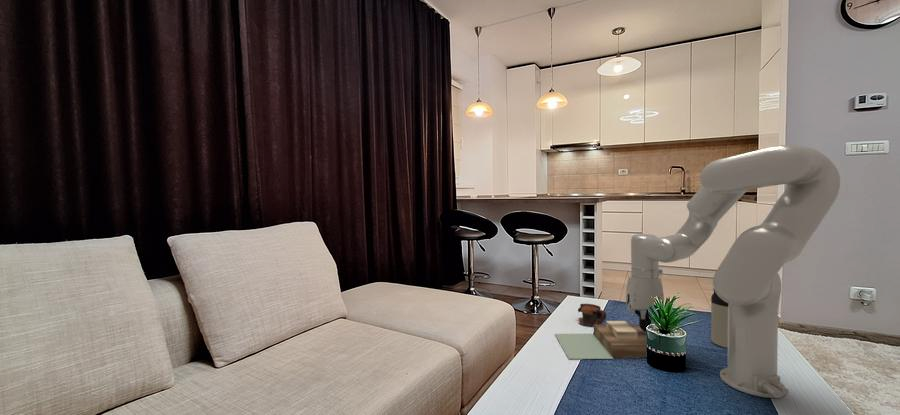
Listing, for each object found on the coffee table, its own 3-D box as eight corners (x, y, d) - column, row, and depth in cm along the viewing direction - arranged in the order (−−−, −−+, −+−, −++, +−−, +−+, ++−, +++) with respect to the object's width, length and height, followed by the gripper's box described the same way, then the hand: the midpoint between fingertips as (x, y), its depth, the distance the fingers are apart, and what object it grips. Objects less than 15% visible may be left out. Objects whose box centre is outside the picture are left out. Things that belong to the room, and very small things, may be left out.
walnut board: (660, 357, 103) (660, 344, 103) (612, 357, 104) (611, 344, 104) (635, 335, 119) (635, 323, 119) (593, 335, 120) (593, 324, 120)
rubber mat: (613, 359, 103) (613, 358, 103) (568, 359, 104) (568, 358, 104) (592, 334, 121) (592, 333, 121) (554, 334, 122) (554, 333, 122)
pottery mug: (571, 324, 133) (572, 302, 136) (587, 330, 137) (588, 309, 140) (598, 325, 123) (599, 301, 126) (615, 331, 127) (616, 309, 130)
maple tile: (637, 339, 107) (637, 331, 107) (617, 339, 107) (617, 331, 107) (624, 328, 116) (624, 320, 116) (606, 328, 116) (606, 321, 116)
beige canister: (735, 352, 105) (736, 293, 104) (706, 342, 112) (706, 287, 111) (748, 345, 109) (748, 288, 108) (718, 336, 116) (718, 283, 115)
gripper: (662, 270, 113) (663, 325, 114) (615, 271, 114) (616, 325, 115) (676, 275, 106) (676, 334, 107) (625, 276, 107) (626, 335, 108)
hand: (645, 330), depth 111 cm, fingers closed
